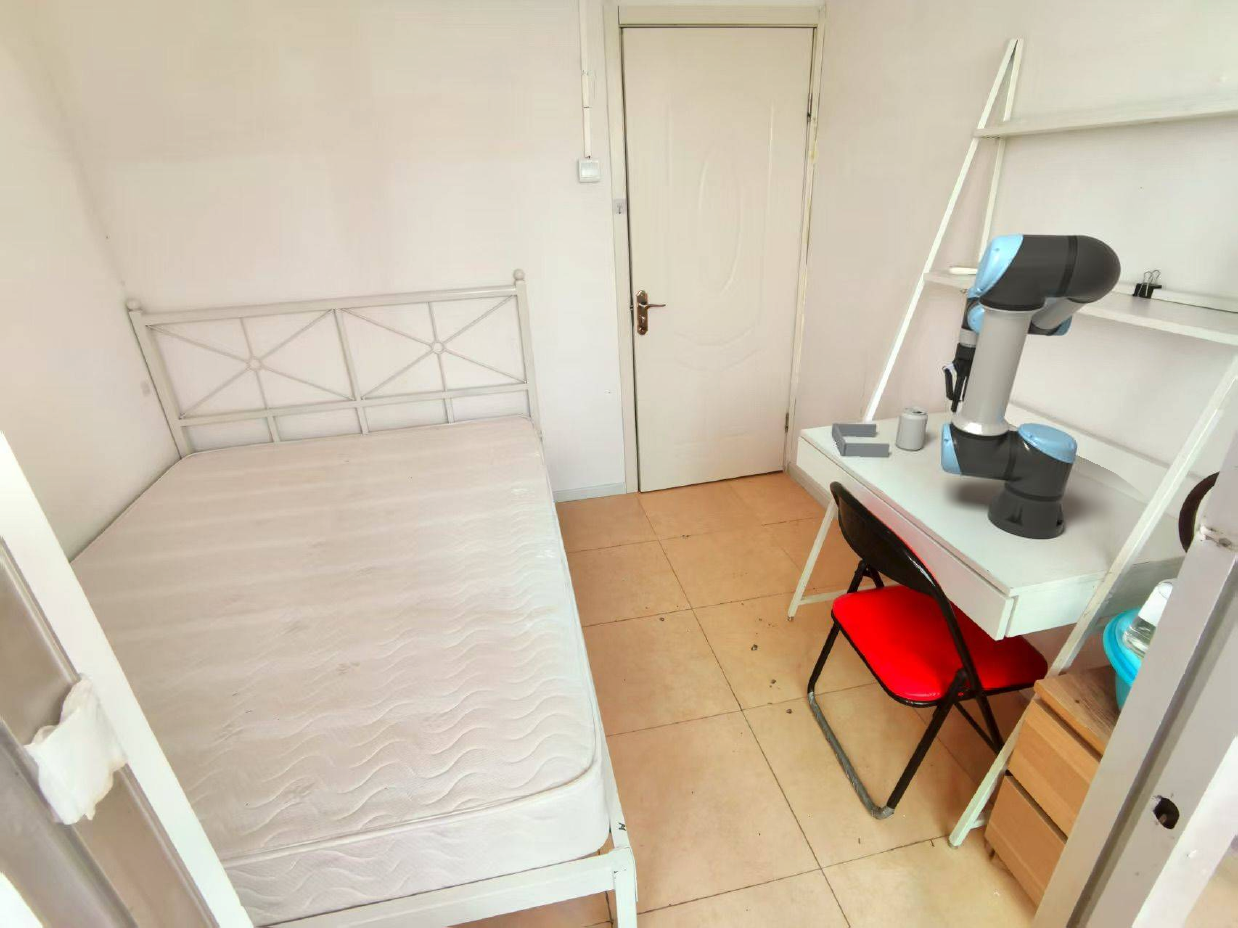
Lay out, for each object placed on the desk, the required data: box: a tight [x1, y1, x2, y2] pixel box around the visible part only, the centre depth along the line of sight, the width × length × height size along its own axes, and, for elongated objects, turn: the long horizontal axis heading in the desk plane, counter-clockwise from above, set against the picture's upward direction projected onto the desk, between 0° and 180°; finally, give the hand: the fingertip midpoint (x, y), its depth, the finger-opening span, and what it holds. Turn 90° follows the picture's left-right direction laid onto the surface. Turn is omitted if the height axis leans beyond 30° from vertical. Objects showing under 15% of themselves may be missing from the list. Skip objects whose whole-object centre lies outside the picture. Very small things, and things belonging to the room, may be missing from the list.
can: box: [894, 406, 929, 452], centre depth 186 cm, size 8×8×12 cm
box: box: [831, 423, 891, 458], centre depth 190 cm, size 16×13×4 cm
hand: (955, 422), depth 184 cm, fingers closed
